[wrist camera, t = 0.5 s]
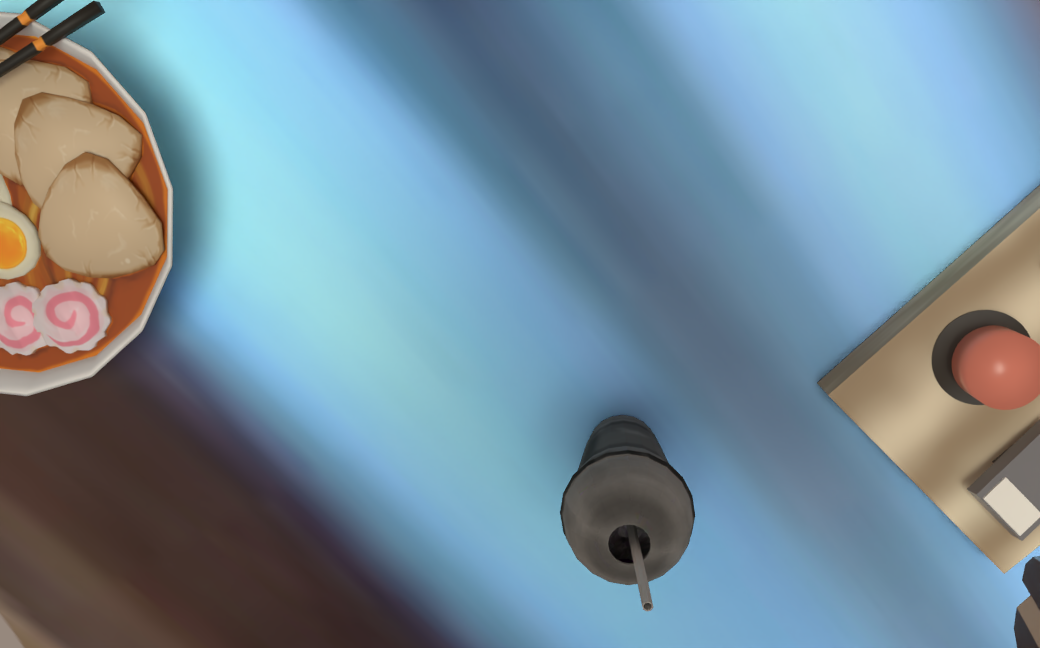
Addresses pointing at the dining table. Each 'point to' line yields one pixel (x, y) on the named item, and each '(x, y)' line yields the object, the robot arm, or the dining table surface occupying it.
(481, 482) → the dining table surface
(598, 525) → the beverage cup
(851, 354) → the control board
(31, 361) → the ramen bowl
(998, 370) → the brick-red push button
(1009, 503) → the charcoal rocker switch
